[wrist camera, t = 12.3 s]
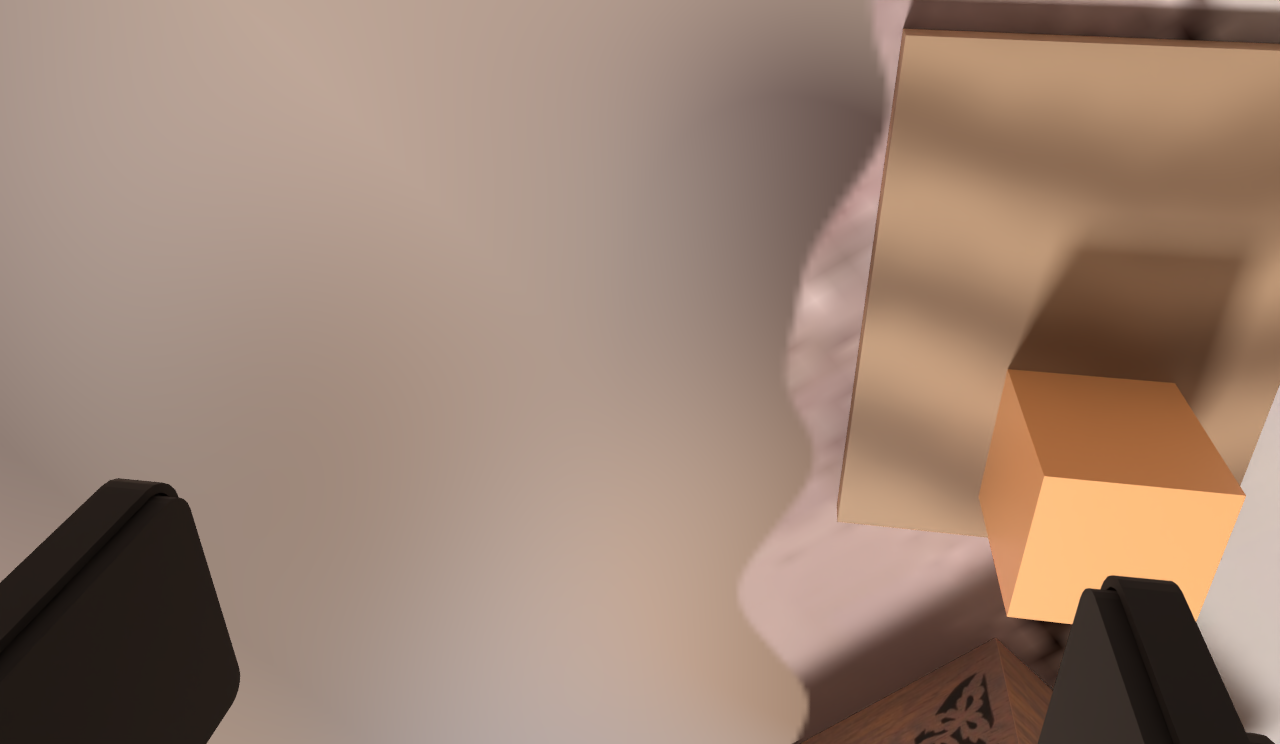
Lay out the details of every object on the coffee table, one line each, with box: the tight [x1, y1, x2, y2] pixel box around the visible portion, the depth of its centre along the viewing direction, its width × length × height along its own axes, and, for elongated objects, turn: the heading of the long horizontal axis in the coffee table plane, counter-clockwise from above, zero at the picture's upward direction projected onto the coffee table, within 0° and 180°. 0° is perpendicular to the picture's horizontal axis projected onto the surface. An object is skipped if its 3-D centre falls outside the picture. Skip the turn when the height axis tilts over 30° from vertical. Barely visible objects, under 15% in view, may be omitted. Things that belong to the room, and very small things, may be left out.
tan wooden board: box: [837, 29, 1280, 538], centre depth 36 cm, size 20×15×1 cm
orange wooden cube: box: [979, 369, 1246, 624], centre depth 35 cm, size 6×6×7 cm
